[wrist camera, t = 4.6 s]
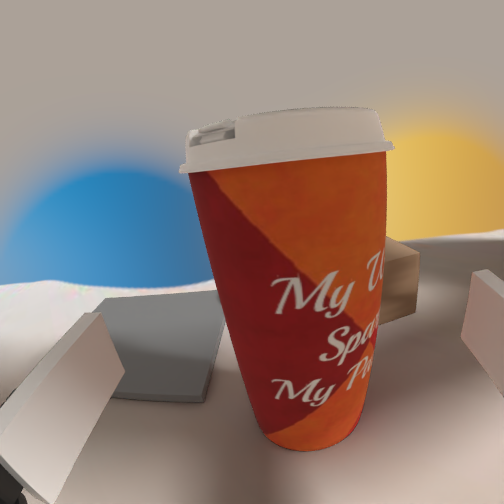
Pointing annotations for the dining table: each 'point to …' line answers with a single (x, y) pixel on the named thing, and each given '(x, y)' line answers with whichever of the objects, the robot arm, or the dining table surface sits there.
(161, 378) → the mat
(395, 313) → the walnut block
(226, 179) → the paper cup
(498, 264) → the dining table surface
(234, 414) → the dining table surface
